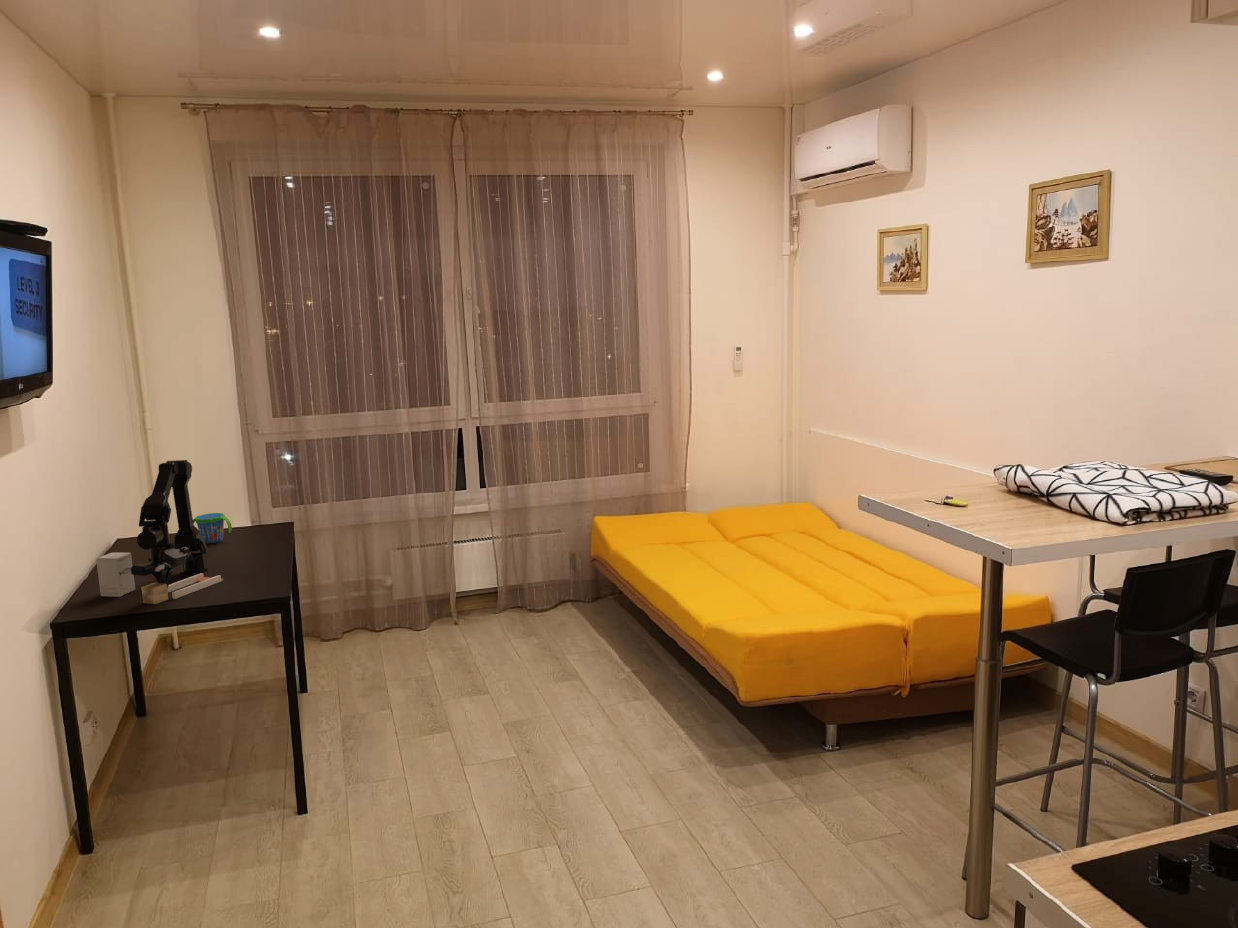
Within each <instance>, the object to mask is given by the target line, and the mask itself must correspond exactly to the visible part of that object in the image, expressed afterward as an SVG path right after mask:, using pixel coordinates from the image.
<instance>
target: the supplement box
mask: <svg viewBox="0 0 1238 928" xmlns="http://www.w3.org/2000/svg"><path fill="white" fill-rule="evenodd" d="M132 559H133V558H132V552H109V553H107V554H105V555H101V556H99V557H97V558H95V560H96V567H97V568H96V570H97V577H98V583H99V584H98V585H99V591H100V597H117V598H121V597H122V596H124V595H126V594H129V593H131V592H133V591H136V585H135V584H136V583H135V577H134V576H135V575H132V574H131V567H132V566H133V560H132Z"/></svg>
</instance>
